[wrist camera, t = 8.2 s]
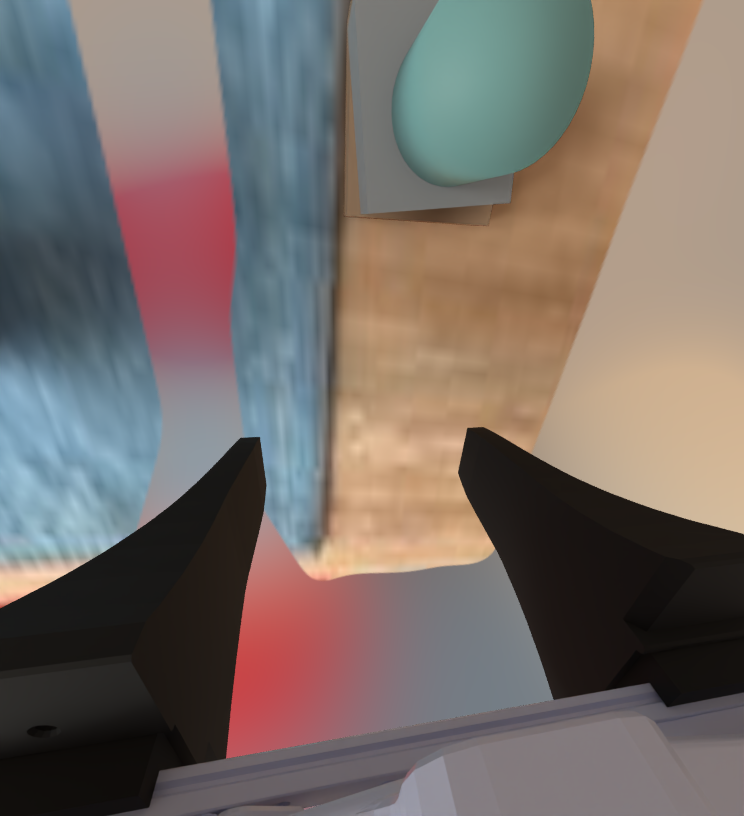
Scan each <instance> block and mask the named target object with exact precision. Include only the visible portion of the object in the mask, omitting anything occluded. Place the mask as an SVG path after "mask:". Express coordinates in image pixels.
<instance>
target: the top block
mask: <svg viewBox="0 0 744 816" xmlns="http://www.w3.org/2000/svg"><path fill="white" fill-rule="evenodd" d="M438 1H439V0H352V6H351V12H350V18H349V23H348V29H347V31H348V45H349V59H350V73H351V87H352V101H353V115H354V129H355V143H356V157H357V170H358V184H359V198H360V212H361V214H373V213H386V212H399V211H412V210H425V209H438V208H452V207H465V206H478V205H491V204H504V203H510V202H511V193H512V185H513V177H514V173H510V174H507V175H502V176H498V177H494V178H489V179H485V180H480V181H476V182H472V183H467V184H463V185H458V186H452V187H441V186H437V185H433V184H431V183H428V182H426V181H424V180H423V179H421V178H420V177H419V176H417V175H416V174H415V173H414V172H413V171H412V170H411V169H410V168H409V166H408V165H407V163H406V162H405V161H404V159H403V157H402V155H401V153H400V151H399V148H398V146H397V143H396V140H395V136H394V132H393V125H392V113H391V110H392V96H393V89H394V85H395V81H396V77H397V74H398V72H399V69H400V66H401V64H402V62H403V60H404V58H405V56H406V54H407V53H408V51H409V49H410V48H411V46H412V44H413V43H414V41H415V39H416V38H417V36H418V34H419V33H420V31H421V29H422V28H423V26H424V24H425V23H426V21H427V19H428V18H429V16H430V14H431V13H432V11H433V9H434V8H435V6H436V4H437V3H438Z"/></svg>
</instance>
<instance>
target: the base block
mask: <svg viewBox="0 0 744 816" xmlns="http://www.w3.org/2000/svg"><path fill="white" fill-rule="evenodd" d="M351 6H352V0H351V1H350V7H349V13H348V19H347V29H348V23H349V18H350V12H351ZM492 206H493V204H491V205H478V206H465V207H452V208H438V209H425V210H412V211H399V212H386V213H373V214H361V212H360V198H359V184H358V170H357V157H356V143H355V129H354V115H353V101H352V87H351V73H350V59H349V45H348V31H347V61H346V121H345V181H344V216H346V217H360V218H374V219H389V220H403V221H417V222H431V223H445V224H460V225H475V226H489V221H490V216H491V211H492Z"/></svg>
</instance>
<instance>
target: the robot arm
mask: <svg viewBox="0 0 744 816" xmlns="http://www.w3.org/2000/svg"><path fill="white" fill-rule="evenodd" d="M458 474H459V477H460V480H461V482H462V485H463V488H464V490H465V493H466V495H467V498H468V500H469V501H470V503H471V505H472V507H473V509H474V511H475V513H476V514H477V516H478V518H479V520H480V522H481V523H482V525H483V527H484V529H485V531H486V532H487V534H488V536H489V538H490V540H491V541H492V543H493V545H494V547H495V549H496V550H497V552H498V554H499V556H500V558H501V560H502V562H503V564H504V567H505V569H506V571H507V574H508V576H509V579H510V581H511V583H512V586H513V588H514V590H515V593H516V595H517V598H518V600H519V602H520V605H521V608H522V610H523V613H524V615H525V618H526V620H527V623H528V626H529V629H530V631H531V634H532V637H533V640H534V643H535V645H536V648H537V651H538V653H539V656H540V659H541V662H542V665H543V668H544V671H545V674H546V677H547V681H548V683H549V687H550V690H551V693H552V696H553V699H554V700H552V701H546V702H540V703H534V704H529V705H523V706H518V707H512V708H506V709H501V710H495V711H490V712H484V713H479V714H473V715H467V716H462V717H456V718H451V719H445V720H440V721H434V722H429V723H423V724H417V725H412V726H406V727H400V728H395V729H389V730H384V731H378V732H373V733H367V734H362V735H356V736H350V737H345V738H339V739H333V740H328V741H323V742H317V743H312V744H306V745H301V746H295V747H289V748H283V749H278V750H272V751H266V752H261V753H255V754H250V755H245V756H239V757H233V758H227V759H226V752H227V742H228V732H229V721H230V711H231V700H232V693H233V684H234V675H235V665H236V656H237V649H238V641H239V634H240V625H241V618H242V610H243V603H244V597H245V590H246V584H247V580H248V575H249V571H250V567H251V563H252V558H253V555H254V550H255V546H256V542H257V538H258V534H259V530H260V525H261V521H262V516H263V512H264V504H265V495H266V478H265V471H264V464H263V457H262V450H261V442H260V437H249V438H240V439H239V440H238V441H237V442H236V443H235V444H234V445H233V446H232V447H231V448H230V449H229V450H228V451H227V452H226V454H225V455H224V456H223V457H222V458H221V459H220V460H219V461H218V462H217V463H216V464H215V465H214V466H213V467H212V468H211V469H210V470H209V471H208V472H207V473H206V474H205V475H204V476H203V477H202V478H201V479H200V480H199V481H198V482H197V483H196V484H195V485H194V486H192V487H191V488H190V489H189V490H188V491H187V492H186V493H185V494H184V495H183V496H181V497H180V498H179V499H178V500H177V501H176V502H174V503H173V504H172V505H171V506H169V507H168V508H167V509H166V510H164V511H163V512H162V513H160V514H159V515H158V516H156V517H155V518H154V519H152V520H151V521H150V522H148V523H147V524H146V525H144V526H143V527H141V528H140V529H138V530H137V531H135V532H134V533H132V534H131V535H129V536H128V537H126V538H125V539H123V540H122V541H120V542H119V543H117V544H116V545H114V546H113V547H111V548H110V549H108V550H107V551H105V552H103V553H102V554H100V555H98V556H97V557H95V558H93V559H92V560H90V561H88V562H87V563H85V564H83V565H81V566H80V567H78V568H76V569H74V570H73V571H71V572H69V573H67V574H66V575H64V576H62V577H60V578H58V579H56V580H55V581H53V582H51V583H49V584H47V585H45V586H43V587H41V588H39V589H37V590H35V591H33V592H32V593H30V594H28V595H26V596H24V597H22V598H20V599H18V600H16V601H14V602H12V603H10V604H8V605H6V606H4V607H2V608H0V816H744V534H741V533H738V532H734V531H730V530H726V529H722V528H718V527H714V526H710V525H707V524H702V523H699V522H695V521H691V520H688V519H684V518H681V517H678V516H675V515H671V514H668V513H664V512H662V511H658V510H655V509H652V508H649V507H646V506H644V505H641V504H638V503H635V502H632V501H630V500H627V499H624V498H622V497H619V496H616V495H614V494H611V493H609V492H606V491H604V490H601V489H599V488H597V487H595V486H592V485H590V484H588V483H586V482H584V481H581V480H579V479H577V478H575V477H573V476H570V475H568V474H567V473H565V472H563V471H561V470H559V469H557V468H555V467H553V466H551V465H549V464H548V463H546V462H544V461H542V460H540V459H539V458H537V457H535V456H533V455H532V454H530V453H528V452H526V451H525V450H523V449H521V448H520V447H518V446H516V445H515V444H513V443H511V442H510V441H508V440H506V439H504V438H503V437H501V436H499V435H498V434H496V433H494V432H492V431H490V430H488V429H486V428H484V427H477V428H467V433H466V438H465V442H464V447H463V452H462V457H461V461H460V466H459V471H458ZM321 804H322V805H321ZM317 805H319V806H317ZM312 806H316V807H313V808H309V809H307V810H304V809H303V808H306V807H312Z"/></svg>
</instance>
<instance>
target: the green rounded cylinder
mask: <svg viewBox="0 0 744 816" xmlns="http://www.w3.org/2000/svg"><path fill="white" fill-rule="evenodd" d="M593 47H594V19H593V10H592V4H591V0H439V1H438V3H437V4H436V6H435V8H434V9H433V11H432V13H431V14H430V16H429V18H428V19H427V21H426V23H425V24H424V26H423V28H422V29H421V31H420V33H419V34H418V36H417V38H416V39H415V41H414V43H413V44H412V46H411V48H410V49H409V51H408V53H407V54H406V56H405V58H404V60H403V62H402V64H401V66H400V69H399V72H398V74H397V77H396V81H395V85H394V89H393V96H392V110H391V113H392V125H393V132H394V136H395V140H396V143H397V146H398V148H399V151H400V153H401V155H402V157H403V159H404V161H405V162H406V163H407V165H408V166H409V168H410V169H411V170H412V171H413V172H414V173H415V174H416V175H417V176H419V177H420V178H421V179H423V180H424V181H426V182H428V183H431V184H433V185H437V186H441V187H452V186H458V185H463V184H467V183H472V182H476V181H480V180H485V179H489V178H494V177H498V176H502V175H507V174H510V173H514V172H517V171H520V170H522V169H524V168H526V167H528V166H530V165H531V164H533V163H535V162H536V161H537V160H539V159H540V158H541V157H542V156H544V155H545V154H546V153H547V152H548V151H549V150H550V149H551V148H552V147H553V146H554V145H555V144H556V142H557V141H558V140H559V139H560V137H561V136H562V135H563V133H564V132H565V130H566V129H567V127H568V126H569V124H570V122H571V120H572V119H573V117H574V115H575V113H576V111H577V109H578V106H579V104H580V102H581V100H582V97H583V94H584V91H585V88H586V85H587V81H588V77H589V73H590V69H591V63H592V57H593Z"/></svg>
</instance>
